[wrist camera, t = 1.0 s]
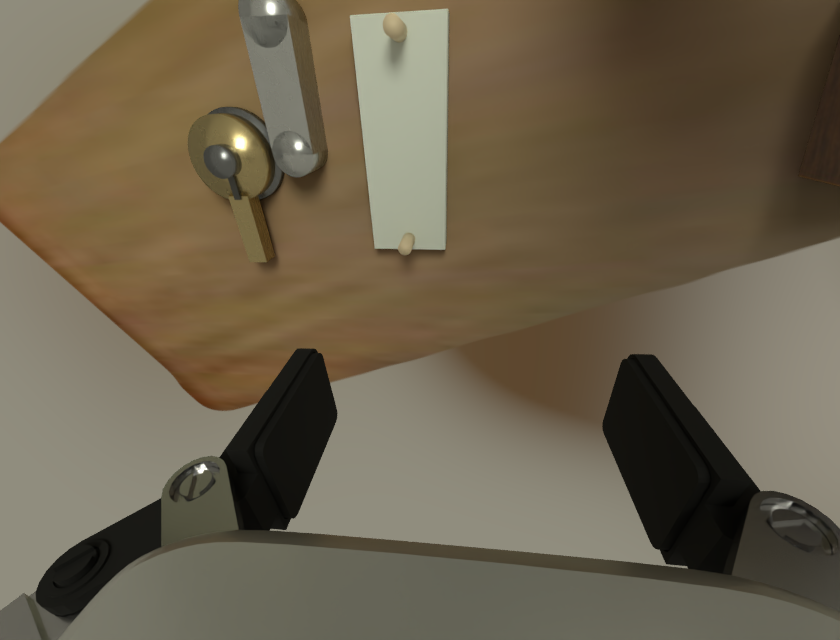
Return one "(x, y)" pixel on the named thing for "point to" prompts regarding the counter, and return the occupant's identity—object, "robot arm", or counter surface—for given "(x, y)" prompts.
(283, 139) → the steel bar
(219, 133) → the gold handled disc
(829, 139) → the tissue box cover
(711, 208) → the counter surface
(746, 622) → the robot arm
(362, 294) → the counter surface
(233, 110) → the round gray base
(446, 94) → the peg rest
